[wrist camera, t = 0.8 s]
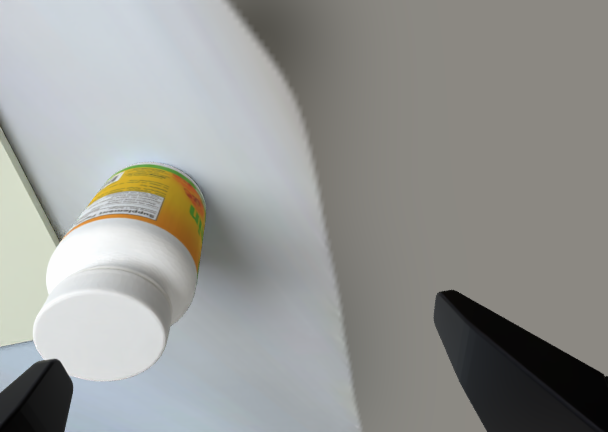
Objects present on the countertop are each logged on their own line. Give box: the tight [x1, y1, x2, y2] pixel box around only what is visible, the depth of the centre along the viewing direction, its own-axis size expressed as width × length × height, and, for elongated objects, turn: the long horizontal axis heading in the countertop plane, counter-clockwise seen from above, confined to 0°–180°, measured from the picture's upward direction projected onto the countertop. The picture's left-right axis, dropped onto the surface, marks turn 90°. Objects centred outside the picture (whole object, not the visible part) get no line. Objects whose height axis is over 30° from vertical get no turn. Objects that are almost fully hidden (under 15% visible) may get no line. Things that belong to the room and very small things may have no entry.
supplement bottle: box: [33, 162, 206, 381], centre depth 16 cm, size 5×5×10 cm
